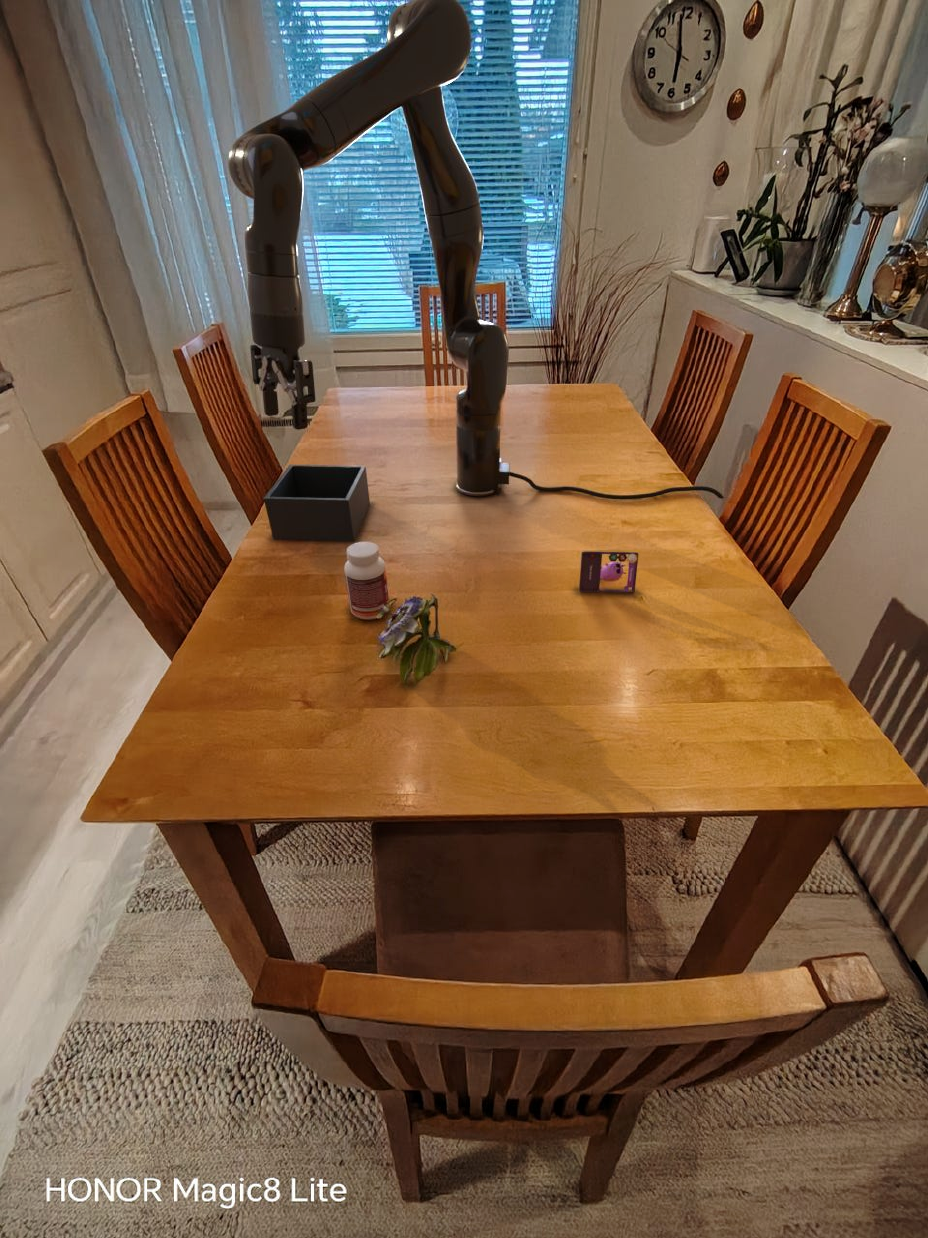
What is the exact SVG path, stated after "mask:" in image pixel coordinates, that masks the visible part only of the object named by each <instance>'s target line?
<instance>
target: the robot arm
mask: <svg viewBox="0 0 928 1238" xmlns="http://www.w3.org/2000/svg"><path fill="white" fill-rule="evenodd" d="M471 50H472V31H471V25H470V21H469V18H468V15H467V12H466V11H465V9H464V7H463V6H462V4H461V3H460V2H459V0H409V1H407V2H404V3H403V4H401V5H399V6H397V7H396V8H395V9H394V11H393V12H392V14H391V16H390V17H389V21H388V25H387V31H386V45H385V46H383V47H382V48H381V49H379V50H377V51H376V52H374V53H372V54H371V55H369V56H367V57H366V58H364V59H362V60H360V61H357V62H356V63H354V64H352V65H350V66H348V67H346V68H344V69H342V70H340V71H339V72H337V73H335V74H333V75H332V76H330V77H329V78H327V79H326V80H324V81H323V82H321V83H320V84H318V85H317V86H315V87H314V88H312V89H311V90H310V91H308V92H307V93H306V94H304V95H303V96H302V97H300V98H299V99H298V100H297V101H295V102H294V103H293V104H292V105H291V106H290V107H288V108H287V109H285V110H284V111H283V112H281V113H279V114H277V115H275V116H273V117H271V118H269V119H267V120H265V121H263V122H261V123H259V124H257V125H256V126H253V127H252V128H251V129H249V130H248V131H245V132H244V133H243V134H242V135H240V136H239V137H238V138H237V139H236V140H235V141H234V143H233V144H232V146H231V148H230V150H229V152H228V153H229V154H228V158H227V159H228V160H227V167H228V173H229V175H230V178H231V180H232V183H233V184H234V186H235V187H236V189H237V190H238V191H240V192H241V193H242V194H243V195H244V196H246V197H247V198H249V199H252V200H253V215H252V216H253V217H252V222H251V223H249V224H248V225H247V226H246V227H245V230H244V248H245V258H246V268H247V269H246V270H247V296H248V306H249V316H250V326H251V334H252V335H251V336H252V342H253V343H254V344H251V345H250V346H249V348H250V360H251V361H250V363H251V373H252V382H253V384H254V385H258V388H259V390H260V392H262V393H261V394H262V401H263V411H264V414H265V415H266V416H268V417H271V416H272V417H273V416H278V415H279V413H280V411H279V399H278V391H277V388H278V384H280V385H281V388H282V390H283V392H285V393H287V395H288V398H289V400H290V402H291V417H292V418H291V419H292V427H293V429H295V430H297V431H299V430H304V429H307V428H308V426H309V425H308V408H307V407H308V404H312V403H315V402H316V399H317V398H316V388H315V375H314V365H313V362H312V360H311V359H305V360H301V358H300V354H299V349H300V348H301V347H304V345H305V343H306V336H305V318H304V317H305V316H304V303H303V292H302V285H301V280H300V266H299V264H300V263H299V251H298V236H299V231H300V225H301V217H302V209H303V202H304V201H303V198H304V175H303V172H305V171H308V170H309V169H315V168H319V167H322V166H324V165H326V164H328V163H329V162H330V161H332V160H333V159H334V158H336V157H337V156H338V155H339V154H341V153H342V152H344V151H345V150H346V149H347V148H349V147H350V146H351V145H352V144H353V143H355V142H356V141H358V139H360V138H361V137H362V136H363V135H365V134H366V133H368V132H369V131H370V130H371V129H373V128H374V127H375V126H376V125H378V124H379V123H380V122H381V121H383V120H384V119H386V118H387V117H389V115H391V114H393V112H395V111H396V110H398V109H400V108H401V110H402V114H403V118H404V121H405V125H406V128H407V132H408V136H409V140H410V144H411V150H412V154H413V160H414V165H415V169H416V173H417V178H418V183H419V188H420V193H421V198H422V205H423V210H424V215H425V222H426V227H427V231H428V232H427V233H428V236H429V241H430V245H431V249H432V254H433V258H434V259H433V260H434V265H435V270H436V277H437V281H438V287H439V292H440V298H441V304H442V316H443V325H444V335H445V342H446V343H445V344H446V349H447V354H448V357H449V359H450V360H451V362H452V363H453V364H454V365H455V366H456V367H457V368H459V369H461V370H463V371H466V372H467V379H466V380H467V381H466V389H462V390H460V391H459V392H457V394H456V396H455V440H456V441H455V443H456V444H455V446H456V447H455V449H456V452H455V453H456V490H457V491H458V492H459V493H460V494H462V495H466V496H469V497H487V496H491V495H498V494H499V493H500V487H501V486H500V485H509V484H510V477H512V478H515V479H519V480H522V481H524V482H526V483H528V484H529V486H531V488H532V489H534V490H537V491H539V492H563V491H566V492H568V491H569V492H576V493H582V494H585V495H589V496H593V497H596V498H600V499H608V500H639V499H640V500H641V499H649V498H654V497H658V496H661V495H665V494H669V493H674V492H675V493H676V492H692V491H701V492H702V491H703V492H708V493H711V494H713V495H715V496H716V497H717V498H718V499H720V500H723V499H725V497H724V496H723V494H722V493H721V492H720V491H719V490H717V489H715V488H713V487H710V486H704V485H695V486H694V485H692V486H674V487H669V488H664V489H661V490H657V491H654V492H648V493H647V492H646V493H639V494H638V493H637V494H623V495H622V494H609V493H602V492H598V491H595V490H590V489H586V488H582V487H578V486H577V487H576V486H571V485H570V486H569V485H568V486H566V485H565V486H553V487H552V486H551V487H545V486H540V485H537V484H535V482H534V481H533V480H532V479H531V478H530V477H527V476H526V475H523V474H519V473H516V472H513V471H510V462H502V458H501V433H502V430H501V429H502V427H501V426H502V403H503V399H504V398H505V395H506V392H507V391H506V390H507V385H508V384H507V383H508V372H509V371H508V369H509V359H510V357H509V356H510V348H509V347H510V346H509V345H510V344H509V340H508V336H507V333H506V331H504V329H503V327H501V326H500V325H498V324H495V323H492V322H488V321H486V320H485V321H484V320H482V318H481V313H480V310H479V304H478V298H477V288H476V287H477V286H476V283H477V282H476V281H477V273H478V269H479V265H480V261H481V256H482V252H483V246H484V224H483V216H482V209H481V203H480V195H479V191H478V187H477V183H476V181H475V179H474V176H473V174H472V172H471V170H470V168H469V166H468V164H467V162H466V160H465V158H464V156H463V154H462V153H461V151H460V149H459V147H458V145H457V142H456V141H455V138H454V136H453V134H452V132H451V129H450V126H449V123H448V119H447V115H446V109H445V104H444V98H443V97H444V96H443V90H442V86H446V85H448V84H450V83H452V82H453V81H455V80H456V79H458V78H459V77H460V76H461V74H462V73H463V72H464V70H465V69H466V67H467V64H468V62H469V58H470V55H471ZM306 387H307V391H306ZM295 391H296V392H295Z"/></svg>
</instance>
